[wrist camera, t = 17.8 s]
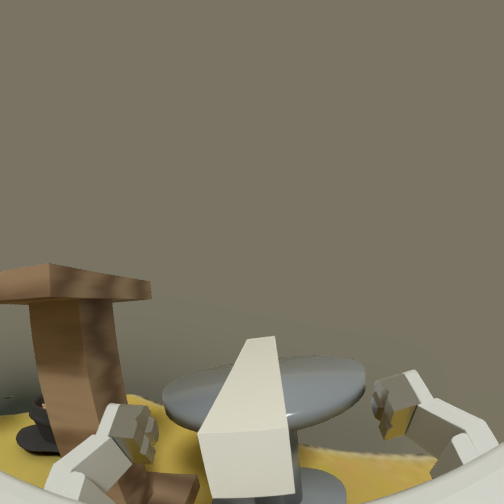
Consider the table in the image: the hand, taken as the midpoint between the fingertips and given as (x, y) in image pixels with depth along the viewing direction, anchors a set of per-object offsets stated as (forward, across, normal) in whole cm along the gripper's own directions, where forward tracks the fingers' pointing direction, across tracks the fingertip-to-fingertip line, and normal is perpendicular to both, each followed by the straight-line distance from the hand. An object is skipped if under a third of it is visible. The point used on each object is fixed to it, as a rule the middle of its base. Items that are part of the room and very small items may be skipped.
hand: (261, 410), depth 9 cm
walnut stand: (+2, -17, -23) cm, 29 cm away
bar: (+8, 0, -9) cm, 12 cm away
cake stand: (+5, 0, -25) cm, 25 cm away
